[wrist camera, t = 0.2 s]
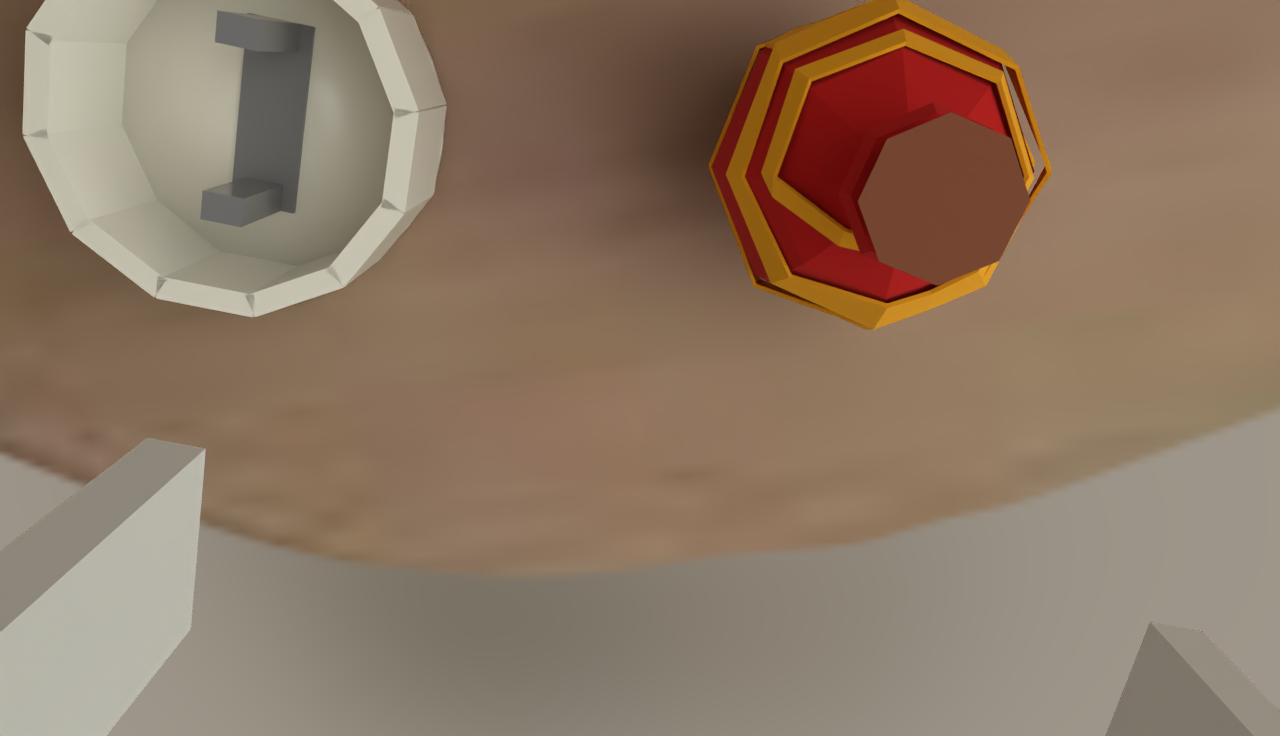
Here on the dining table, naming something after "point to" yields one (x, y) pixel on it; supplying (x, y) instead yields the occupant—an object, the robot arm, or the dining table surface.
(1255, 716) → the robot arm
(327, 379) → the dining table surface
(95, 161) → the white round bowl
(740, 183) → the potion bottle
